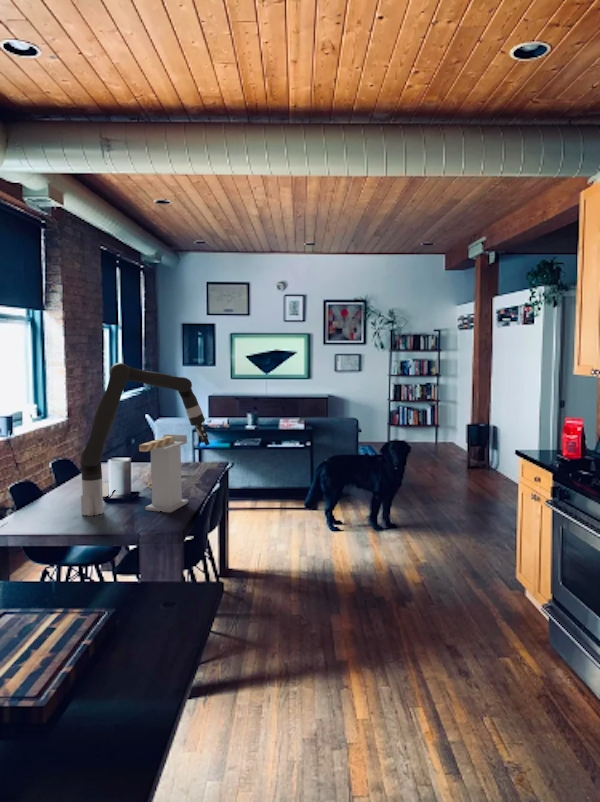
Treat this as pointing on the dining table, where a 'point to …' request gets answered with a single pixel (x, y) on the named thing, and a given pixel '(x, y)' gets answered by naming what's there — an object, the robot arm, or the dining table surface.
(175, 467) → the white plinth column
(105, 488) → the baseboard molding
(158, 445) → the brown wooden block
